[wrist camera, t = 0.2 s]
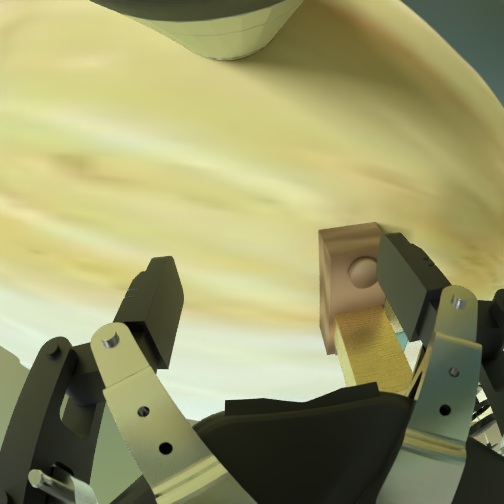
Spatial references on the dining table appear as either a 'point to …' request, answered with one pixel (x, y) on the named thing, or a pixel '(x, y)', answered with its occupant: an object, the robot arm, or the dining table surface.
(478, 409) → the french press
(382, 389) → the brushed brass block
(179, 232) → the dining table surface
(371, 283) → the body
